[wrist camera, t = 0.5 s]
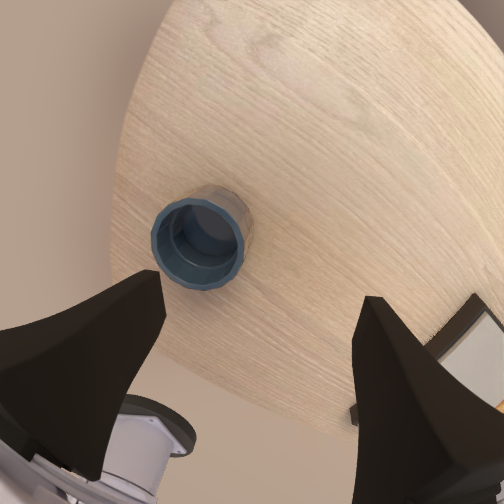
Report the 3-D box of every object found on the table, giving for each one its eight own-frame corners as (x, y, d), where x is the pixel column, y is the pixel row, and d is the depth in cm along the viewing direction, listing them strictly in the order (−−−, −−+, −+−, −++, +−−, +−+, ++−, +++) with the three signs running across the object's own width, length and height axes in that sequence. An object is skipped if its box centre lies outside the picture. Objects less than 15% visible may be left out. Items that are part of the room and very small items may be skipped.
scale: (348, 409, 27) (351, 429, 24) (474, 292, 20) (489, 308, 18) (428, 440, 29) (433, 455, 26) (524, 356, 22) (534, 370, 20)
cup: (193, 268, 22) (172, 298, 18) (165, 199, 21) (137, 215, 16) (263, 250, 21) (257, 279, 17) (238, 174, 19) (224, 184, 15)
